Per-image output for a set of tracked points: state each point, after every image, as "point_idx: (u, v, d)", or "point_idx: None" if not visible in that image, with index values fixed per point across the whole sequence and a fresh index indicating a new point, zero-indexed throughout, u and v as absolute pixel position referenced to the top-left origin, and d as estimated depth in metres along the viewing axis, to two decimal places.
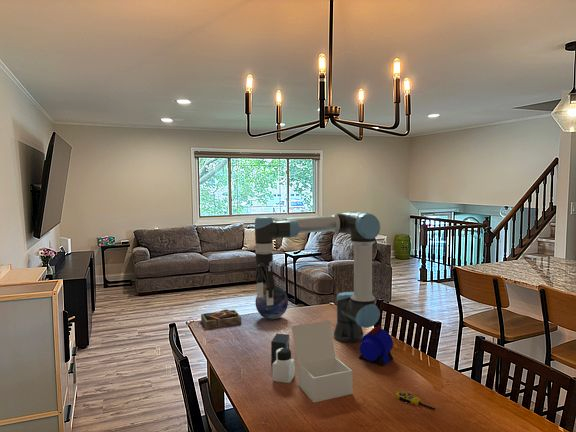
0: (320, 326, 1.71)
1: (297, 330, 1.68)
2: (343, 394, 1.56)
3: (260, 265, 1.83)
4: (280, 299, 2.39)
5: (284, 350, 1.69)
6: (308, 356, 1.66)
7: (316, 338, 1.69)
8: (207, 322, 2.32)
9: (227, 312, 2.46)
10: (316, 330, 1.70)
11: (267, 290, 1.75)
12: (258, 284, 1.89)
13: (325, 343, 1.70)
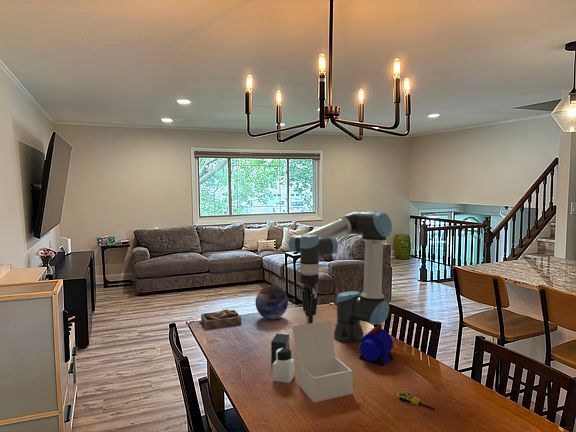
0: (321, 326, 1.71)
1: (298, 330, 1.67)
2: (343, 394, 1.56)
3: (304, 284, 1.72)
4: (280, 299, 2.39)
5: (284, 350, 1.69)
6: (308, 356, 1.66)
7: (316, 338, 1.69)
8: (207, 322, 2.32)
9: (227, 312, 2.46)
10: (316, 330, 1.70)
11: (307, 315, 1.70)
12: None
13: (325, 343, 1.70)
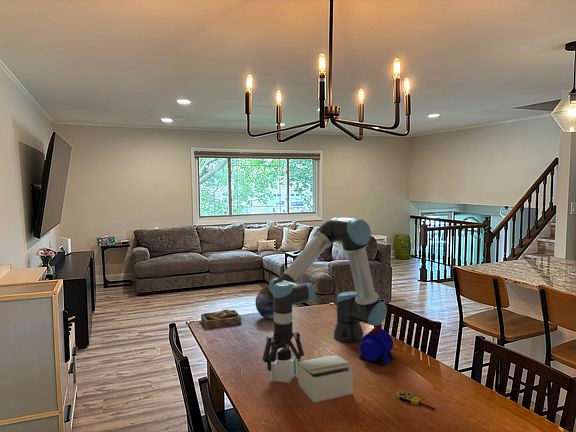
0: None
1: None
2: (343, 394, 1.56)
3: None
4: None
5: (284, 350, 1.69)
6: None
7: None
8: (207, 322, 2.32)
9: (227, 312, 2.46)
10: None
11: None
12: (293, 358, 1.73)
13: None
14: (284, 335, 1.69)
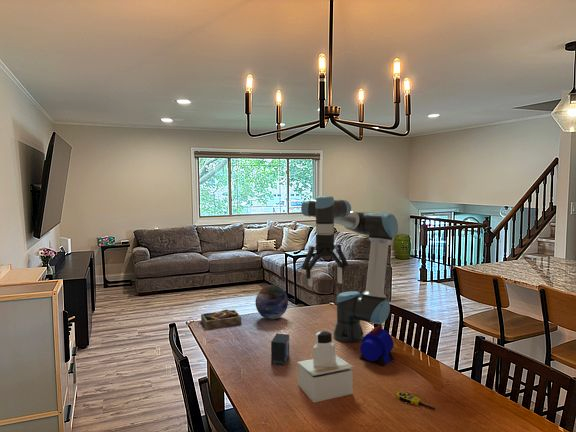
0: None
1: None
2: (343, 394, 1.56)
3: None
4: (280, 299, 2.39)
5: (324, 332, 1.60)
6: None
7: None
8: (207, 322, 2.32)
9: (227, 312, 2.46)
10: None
11: None
12: (337, 268, 1.78)
13: None
14: (326, 246, 1.73)
